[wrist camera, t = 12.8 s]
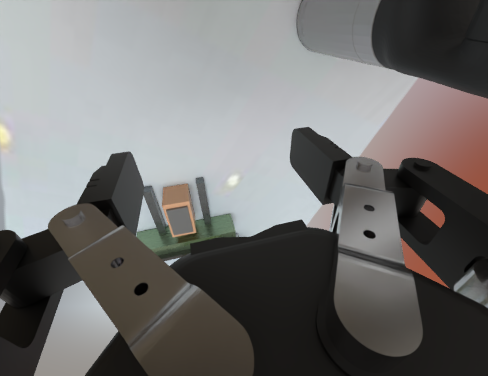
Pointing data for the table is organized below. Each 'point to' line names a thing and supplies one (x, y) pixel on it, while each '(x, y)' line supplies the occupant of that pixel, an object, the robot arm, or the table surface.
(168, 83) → the table surface
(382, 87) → the table surface
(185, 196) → the framed panel box
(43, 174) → the table surface
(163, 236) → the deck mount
